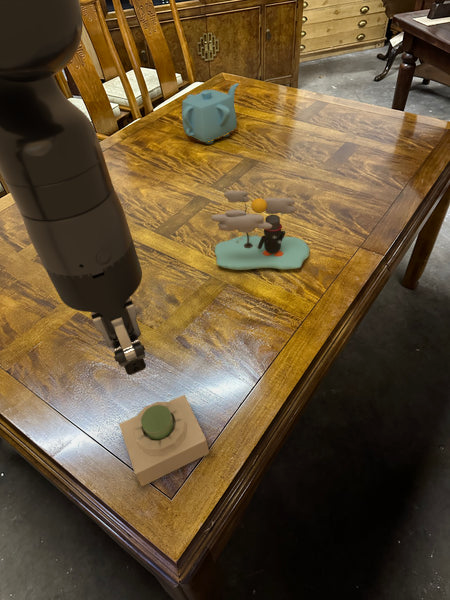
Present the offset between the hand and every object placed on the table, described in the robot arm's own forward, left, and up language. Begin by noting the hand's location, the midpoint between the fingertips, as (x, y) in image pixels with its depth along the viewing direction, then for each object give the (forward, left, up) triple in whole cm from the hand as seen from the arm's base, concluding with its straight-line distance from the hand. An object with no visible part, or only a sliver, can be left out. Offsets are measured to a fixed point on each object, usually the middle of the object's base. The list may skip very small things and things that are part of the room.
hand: (135, 366), depth 47 cm
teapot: (+50, +92, -19) cm, 107 cm away
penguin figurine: (+32, +30, -19) cm, 48 cm away
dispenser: (0, 0, -19) cm, 19 cm away
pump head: (0, 0, -13) cm, 13 cm away
